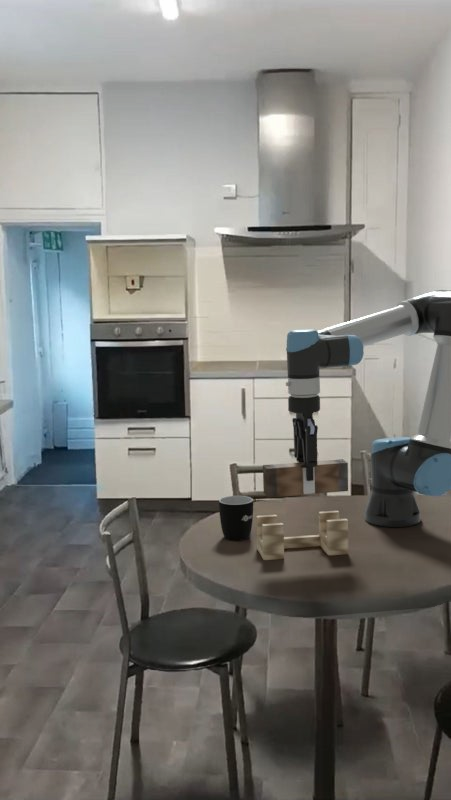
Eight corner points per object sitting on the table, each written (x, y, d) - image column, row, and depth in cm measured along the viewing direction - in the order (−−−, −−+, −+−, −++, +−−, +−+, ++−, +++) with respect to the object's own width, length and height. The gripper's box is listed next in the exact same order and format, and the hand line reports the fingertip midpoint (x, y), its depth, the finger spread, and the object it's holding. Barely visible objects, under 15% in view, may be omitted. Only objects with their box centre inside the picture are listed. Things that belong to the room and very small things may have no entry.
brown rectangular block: (342, 487, 199) (342, 459, 198) (348, 491, 195) (347, 462, 194) (263, 493, 195) (262, 465, 194) (267, 497, 191) (266, 468, 190)
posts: (338, 542, 206) (337, 510, 204) (348, 553, 197) (348, 520, 196) (257, 548, 203) (256, 515, 202) (263, 560, 194) (263, 525, 193)
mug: (243, 544, 206) (242, 506, 205) (213, 539, 211) (212, 502, 210) (265, 531, 217) (264, 495, 215) (236, 527, 221) (235, 491, 220)
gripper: (279, 391, 199) (282, 483, 203) (298, 401, 183) (300, 501, 186) (309, 389, 201) (311, 481, 204) (330, 398, 184) (332, 498, 187)
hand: (306, 490), depth 195 cm, fingers closed on brown rectangular block, 4 cm apart
